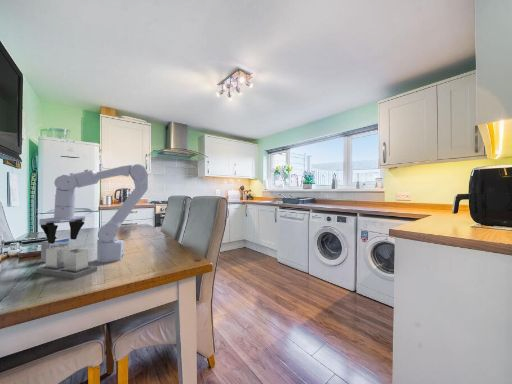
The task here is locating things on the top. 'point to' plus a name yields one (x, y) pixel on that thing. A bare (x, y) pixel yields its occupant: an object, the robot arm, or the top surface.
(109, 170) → the robot arm
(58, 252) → the block
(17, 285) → the top surface
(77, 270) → the billet
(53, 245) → the medicine box
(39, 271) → the grey flat frame
